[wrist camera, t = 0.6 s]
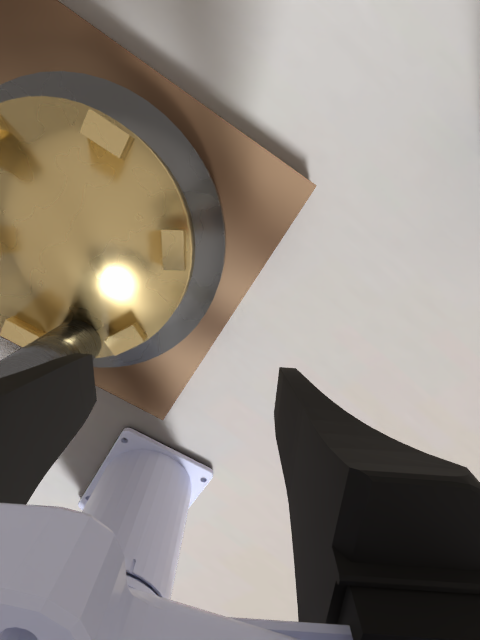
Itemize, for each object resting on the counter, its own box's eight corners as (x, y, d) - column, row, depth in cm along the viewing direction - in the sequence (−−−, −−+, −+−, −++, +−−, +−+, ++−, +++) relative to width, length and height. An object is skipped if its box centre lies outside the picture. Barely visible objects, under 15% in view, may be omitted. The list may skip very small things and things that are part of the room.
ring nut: (134, 381, 19) (79, 463, 13) (-63, 277, 17) (-240, 313, 11) (239, 203, 15) (233, 196, 9) (6, 46, 13) (-196, -93, 7)
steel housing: (153, 394, 21) (146, 407, 20) (-66, 278, 19) (-92, 284, 17) (277, 195, 17) (280, 193, 15) (13, 12, 14) (-12, -10, 13)
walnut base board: (167, 407, 23) (162, 420, 22) (-73, 281, 20) (-97, 286, 19) (311, 187, 18) (316, 185, 17) (15, -23, 15) (-8, -47, 14)
